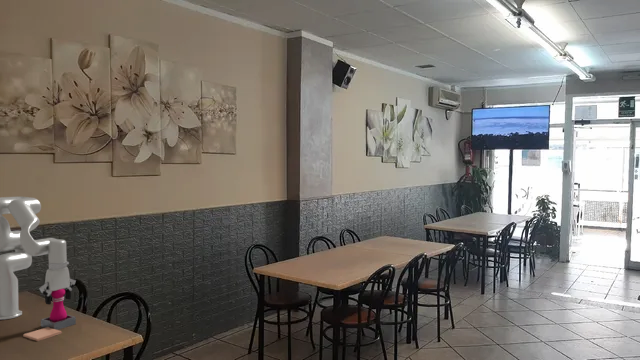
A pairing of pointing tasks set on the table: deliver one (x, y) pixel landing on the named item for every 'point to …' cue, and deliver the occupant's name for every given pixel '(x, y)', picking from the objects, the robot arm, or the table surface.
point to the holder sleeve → (60, 324)
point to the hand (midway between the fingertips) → (58, 301)
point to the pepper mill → (58, 306)
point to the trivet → (42, 334)
